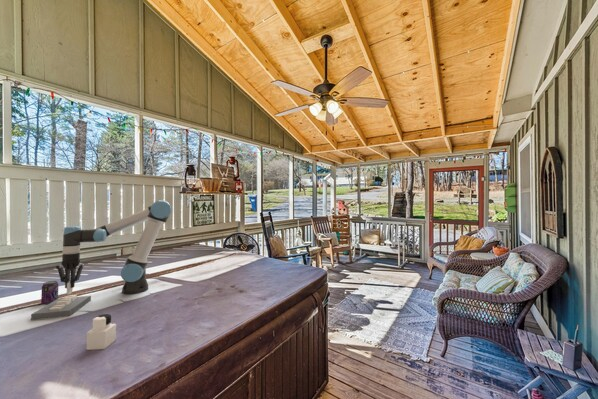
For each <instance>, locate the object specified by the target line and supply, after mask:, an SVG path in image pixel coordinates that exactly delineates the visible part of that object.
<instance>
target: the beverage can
mask: <svg viewBox="0 0 598 399" xmlns="http://www.w3.org/2000/svg"><path fill="white" fill-rule="evenodd" d="M40 296H41V299H40V300H41V302H40V303H41V304H43V305H48V304H50V303H52V302H53V301H55V300H57V299H59V282H58V280H50V281H46V282H43V283H42V286H41V295H40Z"/></svg>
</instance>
